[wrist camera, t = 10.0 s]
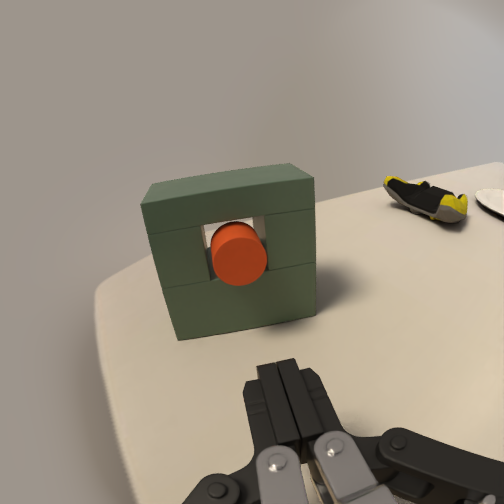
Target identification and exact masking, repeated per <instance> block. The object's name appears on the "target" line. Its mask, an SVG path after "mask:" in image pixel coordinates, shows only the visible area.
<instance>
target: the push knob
mask: <svg viewBox="0 0 504 504" xmlns="http://www.w3.org/2000/svg"><path fill="white" fill-rule="evenodd" d="M211 254H212V262H213V268H214V271H215V273H216V275H217V276H218V277H219V278H220V279H221V280H222V281H223V282H225V283H227V284H230V285H235V286H241V285H247V284H250V283H252V282H254V281H255V280H257V279H258V278H259V277H260V276H261V275H262V273H263V272H264V270H265V268H266V264H267V255H266V251H265V249H264V247H263V245H262V243H261V241H260V239H259V237H258V235H257V233H256V231H255V230H254V229H253V228H252V227H251V226H250V225H248V224H246V223H243V222H238V221H236V222H235V221H234V222H229V223H226V224H224V225H222V226H220V227H219V228H218V229H217V230H216V231H215V233H214V234H213V236H212V239H211Z"/></svg>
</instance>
